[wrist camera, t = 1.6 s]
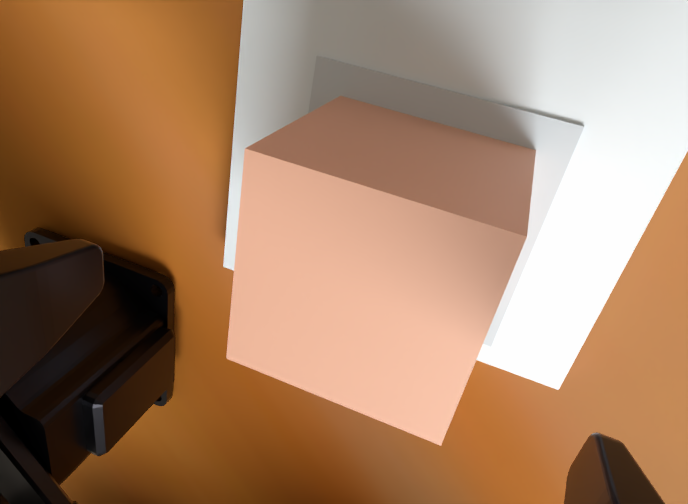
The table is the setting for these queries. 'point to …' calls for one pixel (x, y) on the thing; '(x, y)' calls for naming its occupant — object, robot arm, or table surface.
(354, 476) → the table surface
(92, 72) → the table surface
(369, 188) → the terracotta block
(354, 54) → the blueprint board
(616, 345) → the table surface
